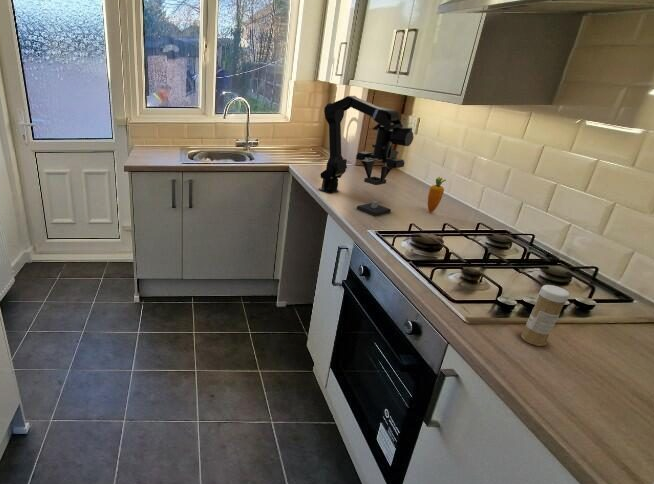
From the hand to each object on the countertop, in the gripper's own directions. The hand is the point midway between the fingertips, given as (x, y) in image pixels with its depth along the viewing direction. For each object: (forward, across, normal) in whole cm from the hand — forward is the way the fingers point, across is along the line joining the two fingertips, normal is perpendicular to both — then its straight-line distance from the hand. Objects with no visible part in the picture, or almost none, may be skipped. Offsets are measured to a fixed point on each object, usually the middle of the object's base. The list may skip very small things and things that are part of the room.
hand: (375, 179), depth 173 cm
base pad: (+11, -6, +6) cm, 14 cm away
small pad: (+1, 0, 0) cm, 1 cm away
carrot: (+11, -19, -12) cm, 25 cm away
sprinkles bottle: (+12, -80, +47) cm, 93 cm away
